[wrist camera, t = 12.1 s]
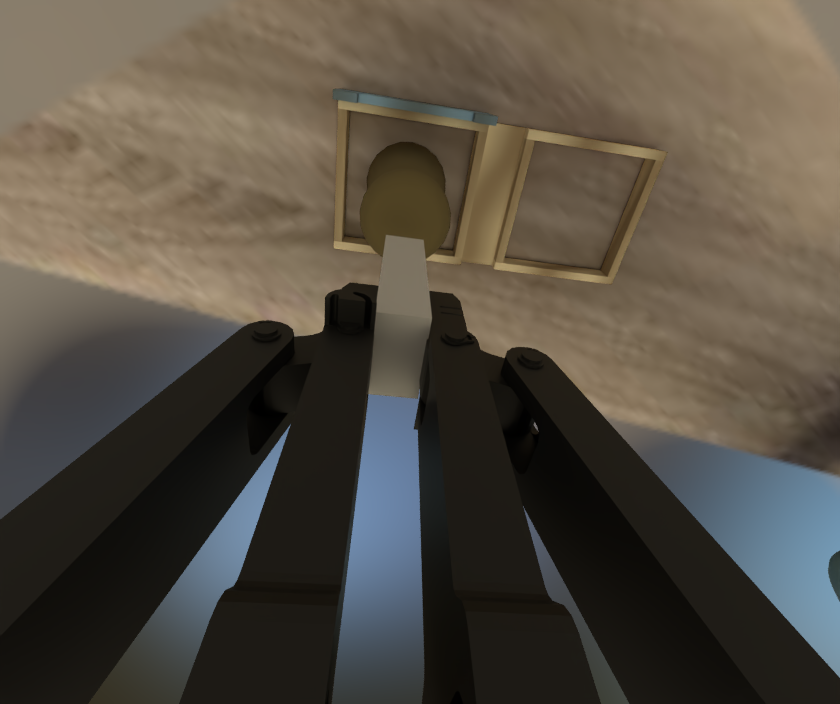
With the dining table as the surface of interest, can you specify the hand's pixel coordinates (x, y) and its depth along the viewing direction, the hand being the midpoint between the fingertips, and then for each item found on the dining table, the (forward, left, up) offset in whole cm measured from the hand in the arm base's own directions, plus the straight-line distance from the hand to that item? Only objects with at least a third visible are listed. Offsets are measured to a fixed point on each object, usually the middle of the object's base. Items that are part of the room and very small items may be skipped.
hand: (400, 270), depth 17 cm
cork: (0, 0, -18) cm, 18 cm away
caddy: (-7, 0, -17) cm, 19 cm away
